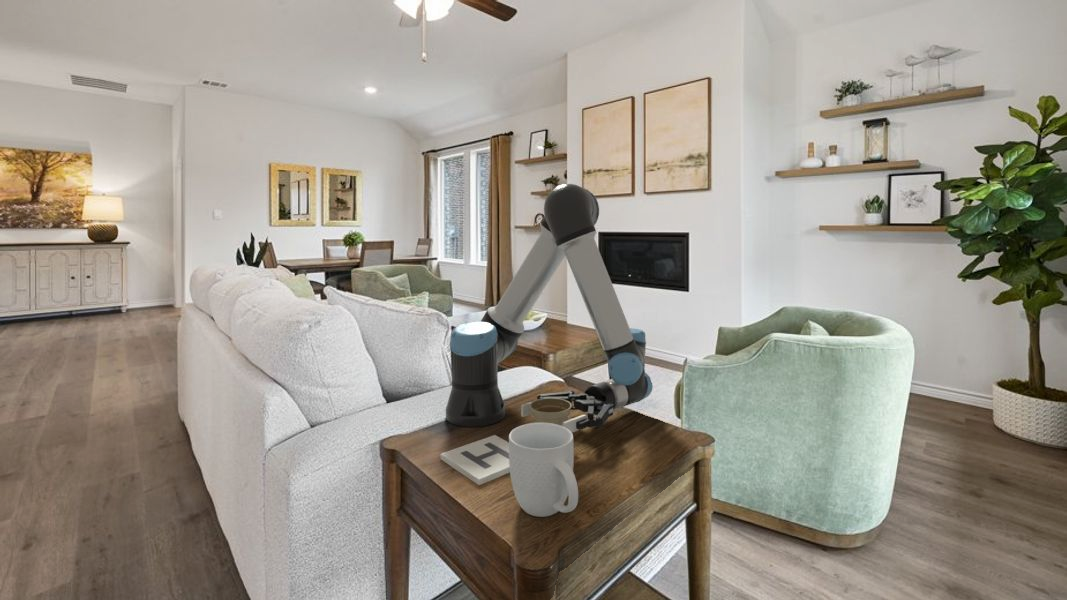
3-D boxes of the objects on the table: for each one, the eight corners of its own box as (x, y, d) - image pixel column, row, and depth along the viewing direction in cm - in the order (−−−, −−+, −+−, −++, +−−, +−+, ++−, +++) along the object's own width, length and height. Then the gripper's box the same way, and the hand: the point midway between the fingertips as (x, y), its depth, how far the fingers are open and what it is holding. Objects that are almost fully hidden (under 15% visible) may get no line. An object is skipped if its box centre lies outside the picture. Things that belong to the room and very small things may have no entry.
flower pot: (521, 444, 108) (521, 407, 107) (543, 429, 116) (543, 395, 115) (558, 454, 104) (558, 415, 102) (578, 438, 111) (578, 402, 110)
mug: (601, 522, 80) (602, 447, 78) (546, 547, 74) (546, 465, 72) (548, 483, 92) (548, 417, 90) (497, 501, 86) (496, 431, 84)
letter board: (440, 459, 102) (440, 453, 102) (494, 439, 111) (494, 434, 111) (478, 485, 91) (478, 479, 91) (535, 461, 100) (535, 456, 100)
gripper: (646, 426, 112) (583, 455, 98) (569, 398, 131) (507, 419, 117) (647, 395, 111) (583, 419, 97) (569, 371, 130) (506, 389, 116)
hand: (541, 419), depth 107 cm, fingers open, 13 cm apart
